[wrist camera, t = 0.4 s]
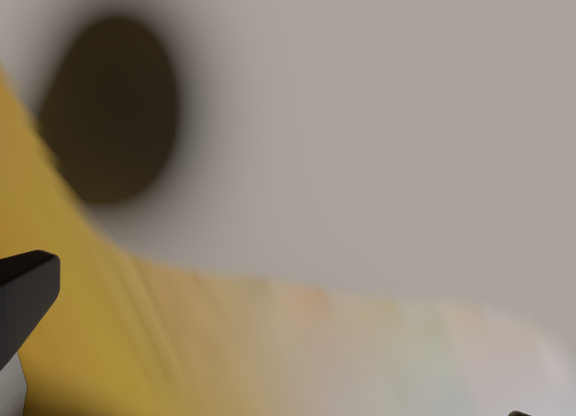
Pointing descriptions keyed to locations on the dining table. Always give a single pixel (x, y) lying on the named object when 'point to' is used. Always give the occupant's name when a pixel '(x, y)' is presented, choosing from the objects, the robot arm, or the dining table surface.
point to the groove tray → (12, 388)
